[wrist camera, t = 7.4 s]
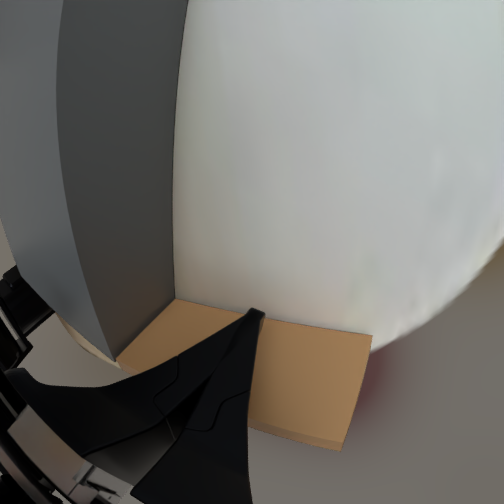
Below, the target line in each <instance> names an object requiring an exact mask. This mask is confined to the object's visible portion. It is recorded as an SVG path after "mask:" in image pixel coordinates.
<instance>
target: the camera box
mask: <svg viewBox="0 0 504 504" xmlns="http://www.w3.org/2000/svg"><path fill="white" fill-rule="evenodd" d="M187 2H188V0H0V218H1V221H2V225H3V228H4V231H5V234H6V237H7V240H8V243H9V246H10V249H11V251H12V254H13V257H14V259H15V262H16V265H17V267H18V270H19V272H20V275H21V276H22V277H23V278H24V280H25V281H26V282H27V283H28V284H29V285H30V286H31V287H32V288H33V289H34V290H35V291H36V292H37V293H38V295H39V296H40V297H41V298H42V299H43V300H44V301H45V302H46V303H47V305H48V306H49V307H50V308H51V309H53V310H54V311H56V312H57V313H58V314H59V315H60V316H61V317H62V318H63V319H64V320H65V321H66V322H67V323H68V324H69V325H71V326H72V327H73V328H74V329H75V330H76V331H77V332H78V333H80V334H81V335H82V336H83V337H84V338H85V339H87V340H88V341H89V342H90V343H91V344H92V345H94V346H95V347H96V348H97V349H99V350H100V351H101V352H102V353H104V354H105V355H106V356H107V357H109V358H110V359H111V360H112V361H114V362H116V358H117V357H118V356H119V355H120V354H121V353H122V352H123V351H124V350H125V349H126V348H127V347H128V346H129V345H130V344H131V343H132V342H133V340H134V339H135V338H136V337H137V336H138V335H139V334H140V333H141V332H142V331H143V330H144V329H145V328H146V327H147V326H148V325H149V324H150V323H151V322H152V321H153V320H154V319H155V318H156V317H157V316H158V315H159V314H160V313H161V312H162V311H163V310H164V309H165V308H166V307H167V306H169V305H170V304H171V303H172V302H173V301H174V300H175V292H174V274H173V247H172V163H173V137H174V119H175V104H176V91H177V80H178V70H179V60H180V52H181V43H182V36H183V28H184V21H185V15H186V8H187Z"/></svg>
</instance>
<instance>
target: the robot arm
mask: <svg viewBox="0 0 504 504" xmlns="http://www.w3.org/2000/svg"><path fill="white" fill-rule="evenodd" d="M0 310H1V312H2V314H3V315H4V317H5V318H6V320H7V321H8V323H9V325H10V326H11V328H12V329H13V331H14V332H15V334H16V335H17V337H18V338H19V339H17V340H15V339H14V337H13V336H12V334H11V333H10V331H9V330H8V328H7V327H6V325H5V323H4V322H3V320H2V319H1V317H0V472H1V473H2V474H3V475H1V476H0V504H63V503H62V502H63V501H62V500H61V499H60V498H58V497H56V496H54V495H52V493H53V492H54V491H55V489H56V490H57V491H58V492H59V493H60V494H61V495H62V496H63V497H65V498H66V499H67V500H68V501H69V502H70V503H71V504H118V503H119V501H120V500H121V499H122V497H123V496H124V495H125V493H126V492H127V491H128V489H129V488H130V487H131V485H132V486H134V487H133V489H132V490H131V492H130V495H131V496H133V497H135V498H136V499H138V500H139V501H141V502H142V503H144V504H253V502H252V495H251V489H250V482H249V472H248V410H249V401H250V394H251V387H252V380H253V373H254V366H255V359H256V351H257V344H258V337H259V335H260V332H261V330H262V327H263V323H264V319H265V313H264V312H262V311H260V310H257V309H255V308H250V309H249V310H248V312H247V313H246V314H245V315H243V316H242V317H240V318H239V319H237V320H235V321H234V322H232V323H230V324H229V325H227V326H225V327H224V328H222V329H220V330H219V331H217V332H215V333H214V334H212V335H210V336H209V337H207V338H205V339H204V340H202V341H200V342H199V343H197V344H195V345H193V346H192V347H190V348H188V349H187V350H185V351H183V352H181V353H180V354H178V356H177V355H176V356H174V357H172V358H171V359H169V360H167V361H165V362H163V363H161V364H159V365H157V366H156V367H153V368H151V369H149V370H146V371H144V372H142V373H139V374H137V375H134V376H132V377H129V378H126V379H124V380H121V381H119V382H116V383H113V384H110V385H107V386H102V387H69V386H52V385H45V384H42V383H40V382H38V381H36V380H35V379H34V378H33V377H32V376H31V375H30V374H29V372H28V371H27V370H26V369H25V368H17V367H18V365H19V364H20V363H21V362H22V360H23V359H24V358H25V357H26V355H27V354H28V353H29V352H30V351H31V349H32V348H33V346H32V344H31V343H30V342H29V341H28V340H27V338H26V337H27V336H28V335H29V334H30V333H31V332H33V331H34V330H35V329H36V328H37V327H38V326H40V324H42V323H43V322H44V321H45V320H46V319H48V318H49V317H50V316H51V315H52V314H54V313H55V312H56V311H54V310H53V309H51V308H50V307H49V306H48V305H47V303H46V302H45V301H44V300H43V299H42V298H41V297H40V296H39V295H38V293H37V292H36V291H35V290H34V289H33V288H32V287H31V286H30V285H29V284H28V283H27V282H26V281H25V280H24V278H23V277H22V276H21V275H20V272H19V270H18V267H17V265H15V266H14V267H13V268H11V269H10V270H8V271H7V272H6V273H4V274H3V279H2V280H1V281H0Z"/></svg>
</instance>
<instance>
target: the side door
mask: <svg viewBox="0 0 504 504" xmlns="http://www.w3.org/2000/svg"><path fill="white" fill-rule="evenodd" d="M243 315H245V314H241V313H237V312H232V311H227V310H222V309H218V308H213V307H209V306H205V305H200V304H196V303H192V302H187V301H183V300H179V299H175V300H174V301H173V302H172V303H171V304H170V305H169V306H167V307H166V308H165V309H164V310H163V311H162V312H161V313H160V314H159V315H158V316H157V317H156V318H155V319H154V320H153V321H152V322H151V323H150V324H149V325H148V326H147V327H146V328H145V329H144V330H143V331H142V332H141V333H140V334H139V335H138V336H137V337H136V338H135V339H134V340H133V342H132V343H131V344H130V345H129V346H128V347H127V348H126V349H125V350H124V351H123V352H122V353H121V354H120V355H119V356H118V357H117V358H116V361H117V362H118V364H119V365H120V367H121V368H122V370H124V371H126V372H127V373H129V374H131V375H133V376H134V375H137V374H139V373H142V372H144V371H146V370H149V369H151V368H153V367H156V366H157V365H159V364H161V363H163V362H165V361H167V360H169V359H171V358H172V357H174V356H176V355H177V356H178V354H180V353H181V352H183V351H185V350H187V349H188V348H190V347H192V346H193V345H195V344H197V343H199V342H200V341H202V340H204V339H205V338H207V337H209V336H210V335H212V334H214V333H215V332H217V331H219V330H220V329H222V328H224V327H225V326H227V325H229V324H230V323H232V322H234V321H235V320H237V319H239V318H240V317H242V316H243ZM371 342H372V336H371V335H363V334H356V333H349V332H342V331H336V330H329V329H323V328H317V327H311V326H305V325H299V324H293V323H288V322H282V321H277V320H272V319H266V318H265V319H264V323H263V327H262V330H261V332H260V335H259V337H258V344H257V351H256V359H255V366H254V373H253V380H252V387H251V394H250V401H249V410H248V427H251V428H254V429H257V430H260V431H263V432H266V433H269V434H273V435H276V436H279V437H283V438H286V439H290V440H294V441H297V442H301V443H305V444H309V445H313V446H317V447H322V448H326V449H331V450H335V451H341V449H342V447H343V444H344V441H345V438H346V435H347V432H348V429H349V426H350V423H351V419H352V416H353V413H354V410H355V407H356V403H357V400H358V396H359V392H360V389H361V385H362V381H363V378H364V374H365V370H366V366H367V361H368V357H369V353H370V348H371Z"/></svg>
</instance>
